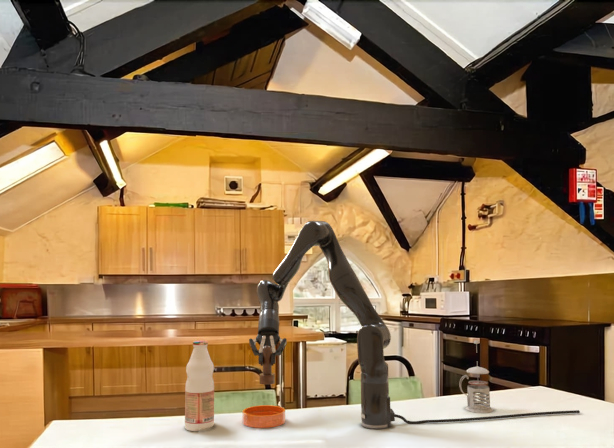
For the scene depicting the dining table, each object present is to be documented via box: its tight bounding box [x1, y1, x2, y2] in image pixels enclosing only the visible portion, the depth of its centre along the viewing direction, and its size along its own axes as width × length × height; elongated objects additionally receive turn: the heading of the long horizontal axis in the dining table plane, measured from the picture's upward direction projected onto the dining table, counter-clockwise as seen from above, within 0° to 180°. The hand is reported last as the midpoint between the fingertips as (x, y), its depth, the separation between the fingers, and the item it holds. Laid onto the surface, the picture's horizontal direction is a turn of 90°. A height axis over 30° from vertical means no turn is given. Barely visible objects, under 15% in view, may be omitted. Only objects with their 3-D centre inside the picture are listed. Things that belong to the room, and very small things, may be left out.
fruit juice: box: [184, 339, 215, 432], centre depth 175 cm, size 9×9×28 cm
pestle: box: [259, 345, 276, 386], centre depth 180 cm, size 5×5×13 cm
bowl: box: [241, 404, 286, 429], centre depth 177 cm, size 14×14×4 cm
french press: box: [458, 339, 494, 414], centre depth 195 cm, size 10×12×25 cm
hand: (266, 364), depth 178 cm, fingers closed on pestle, 3 cm apart
